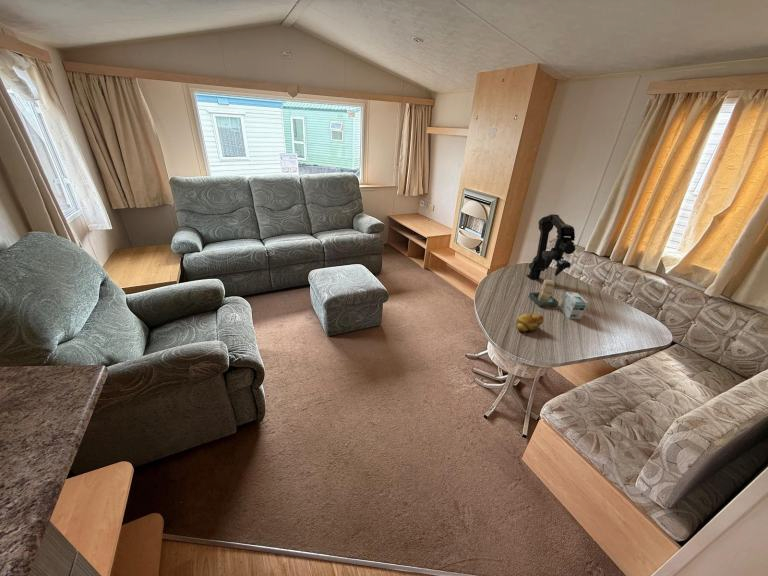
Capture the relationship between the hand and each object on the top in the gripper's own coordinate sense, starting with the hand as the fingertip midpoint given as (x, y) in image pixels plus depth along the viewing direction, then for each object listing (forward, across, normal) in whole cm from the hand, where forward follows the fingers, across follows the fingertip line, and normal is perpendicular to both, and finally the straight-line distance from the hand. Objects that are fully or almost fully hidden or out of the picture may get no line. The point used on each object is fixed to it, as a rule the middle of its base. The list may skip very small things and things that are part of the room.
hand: (550, 272), depth 184 cm
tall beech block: (+13, +12, -9) cm, 20 cm away
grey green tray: (+13, +12, -9) cm, 20 cm away
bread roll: (+14, +35, -34) cm, 51 cm away
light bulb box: (+13, +25, -1) cm, 28 cm away
